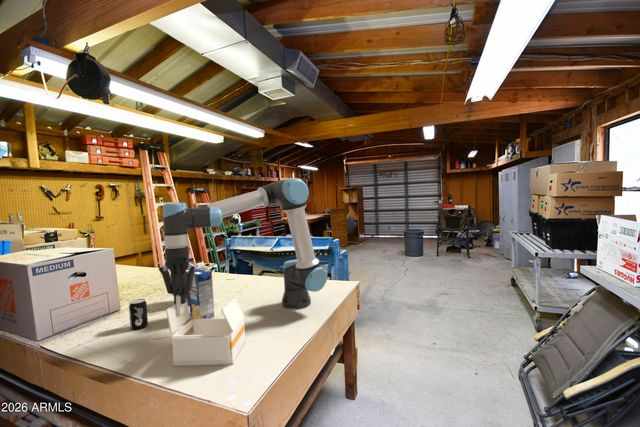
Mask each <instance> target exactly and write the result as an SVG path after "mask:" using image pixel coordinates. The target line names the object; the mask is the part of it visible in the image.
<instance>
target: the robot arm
mask: <svg viewBox="0 0 640 427" xmlns="http://www.w3.org/2000/svg"><path fill="white" fill-rule="evenodd" d="M309 191H310V190H309V188H308V186H307V184H306V182H304V180H302V179H300V178H297V177H294V178H293V177H291V178H290V177H289V178H286V179H281V180H280V179H279V180H276V181H273V182H271V183H269V184H267V185H263V186H260V187H258V188H257V190H254V191H251V192H246V193H243V194H240V195H235V196H233V197H228V198H225V199H222V200H218V201H213V202H210V203H207V204H203V205H200V206H196V207H188V206H187V203H185V202H169V203H168V202H167V203H164V204H163V206H162V222H163V235H164V236H163V240H164V242H163V243H164V247H165V249H164V257H165V262H164V265H162V266H161V267H159V268H158V272H160V274H161V276H162V279H163V282H164V285H165V289H166V291H167V294H169V295H172V296H173V303H174V304H176V305H177V314H181V313H183V312H184V303H186V293H188V292H190V291H191V288H192V283H193V278H194V273H195V270H196V269H198V265H197V264H193V263H192V262H191V259H190V247H189V246H188V245H189V230H191V229H204V228H215V227H220V226H221V224H222V222H223V219H224V218H227V217H230V216H234V215H237V214H240V213H243V212H247V211H250V210H253V209H255V208H259V207H264V208H266V207H269V206H275V205H277V206H278V205H280V207H281V208H280V209H281V211H282V212H284V213H285V214H286V218H287V222H288V226H289V227H288V228H289V230H290V234H291V238H292V243H293V244H292V245H293V247H294V252H295V257H296V259H291V260H286V261H284V263H283V267H282V270H283V281H284V282H283V284H284V292H283V294H282V299H281V306H282V307H283V308H284V309H288V310H299V309H304V308H307V307H309V306H310V305H311V303H312V299H311V296H310V292H313V293H315V292H316V293H317V292H320V291H321V290H322V289H323V288H324V287H325V285H326V283H327V281H328V274H327V271H326V270H325V268H324V267H322V266H321V263H320V259H319V258H318V257H316V254H315V250H314V246H313V242H312V237H311V233H310V229H309V228H310V227H309V224H308V220H307V214H306V211H305V209H306V207H307V205H308V204H307V200H308V198H309V194H310V192H309ZM186 271H189V272H188V276H187V281H186ZM170 276H171V277H172V280H171V277H170ZM179 293H180V294H179ZM174 304H173V305H174Z"/></svg>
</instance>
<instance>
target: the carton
mask: <svg viewBox="0 0 640 427" xmlns="http://www.w3.org/2000/svg"><path fill="white" fill-rule="evenodd" d="M182 326H183V327H181V328H179V330H177V332H174V334H173V335H171V350H172V361H173V367H184V366H185V367H187V366H191V367H192V366H194V367H195V366H220V365H221V366H225V365H226V366H227V365H229V366H230V365H231V366H232V365H234V363H235V362H236V360H237V358H239V355H240V353H241V352H242V350H243V348H244V346H245V344H246V330H245V329H246V328H245V316H244V317H243V319H242V320H241V321H240V323H239V324H238V325H237V327H236V328H235V330H234V331H233V332H232V331H231V329H230V327H229V325H228V323H227V321H226V319H225V317H216V318H215V317H213V318H207V319H194V318H192V319H189V321H188V322H187V323H186V324H185V325H182Z"/></svg>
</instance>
